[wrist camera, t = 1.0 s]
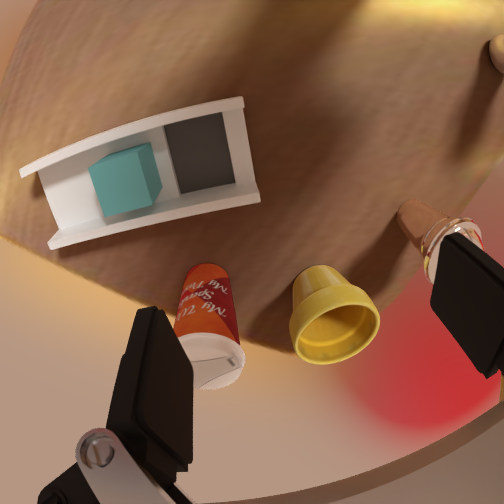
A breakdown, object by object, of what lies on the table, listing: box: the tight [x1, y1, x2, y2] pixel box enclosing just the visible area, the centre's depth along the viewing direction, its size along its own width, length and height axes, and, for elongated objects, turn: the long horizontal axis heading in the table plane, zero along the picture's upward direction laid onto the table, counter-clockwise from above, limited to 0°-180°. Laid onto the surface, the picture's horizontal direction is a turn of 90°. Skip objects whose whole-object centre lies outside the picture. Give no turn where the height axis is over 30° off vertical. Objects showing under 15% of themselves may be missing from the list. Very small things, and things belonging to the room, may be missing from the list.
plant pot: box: [289, 265, 380, 365], centre depth 35 cm, size 10×10×10 cm
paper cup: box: [173, 263, 245, 390], centre depth 31 cm, size 8×8×14 cm
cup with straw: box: [397, 199, 485, 284], centre depth 27 cm, size 8×9×20 cm
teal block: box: [88, 142, 163, 217], centre depth 26 cm, size 5×5×5 cm
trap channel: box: [19, 96, 261, 250], centre depth 27 cm, size 10×24×4 cm, turn 99°
